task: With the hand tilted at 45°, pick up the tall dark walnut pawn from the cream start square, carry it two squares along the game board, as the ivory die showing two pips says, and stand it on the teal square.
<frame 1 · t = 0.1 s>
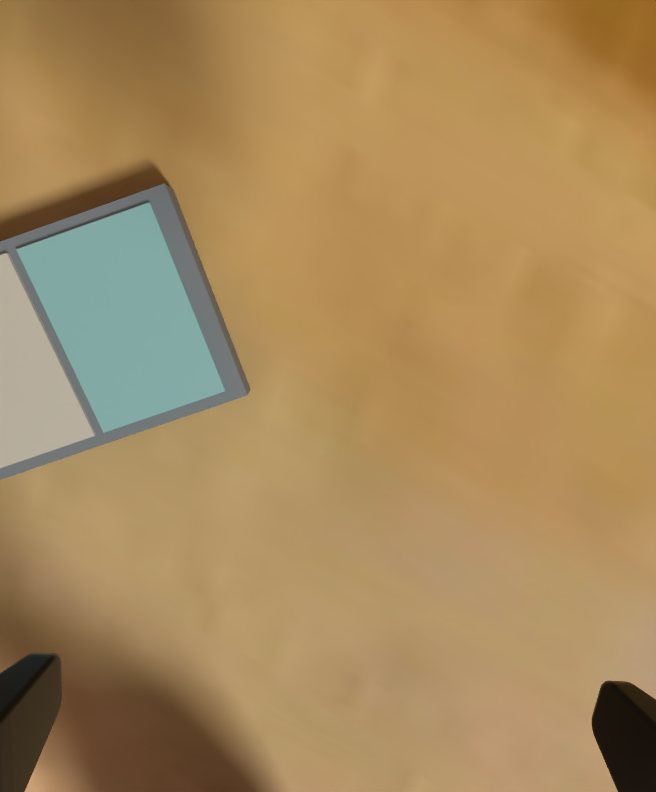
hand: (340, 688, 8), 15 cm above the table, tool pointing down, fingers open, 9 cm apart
board: (10, 365, 20), on the table
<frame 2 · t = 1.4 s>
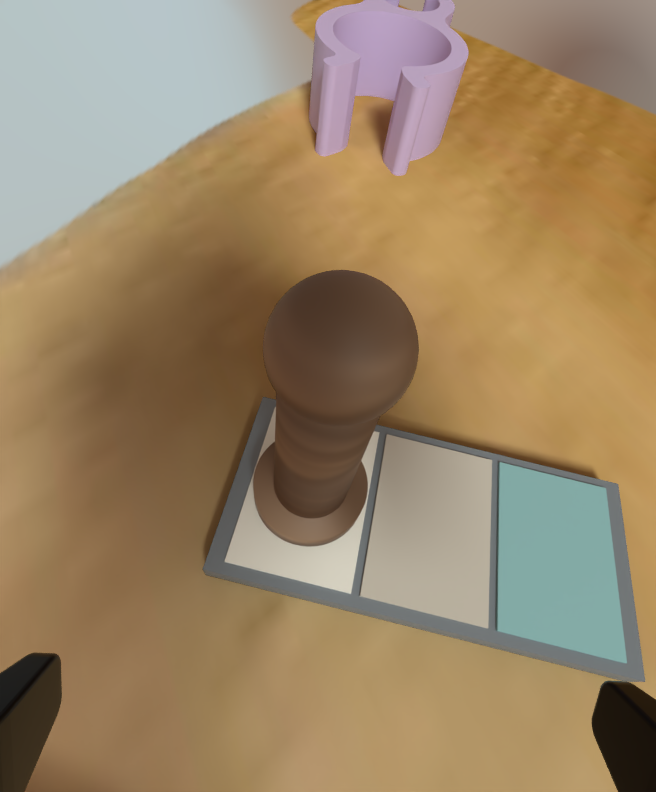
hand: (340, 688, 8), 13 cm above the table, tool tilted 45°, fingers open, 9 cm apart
clip: (380, 113, 45), on the table
board: (424, 529, 23), on the table
pawn: (309, 490, 22), point 1 cm above the table, touching board
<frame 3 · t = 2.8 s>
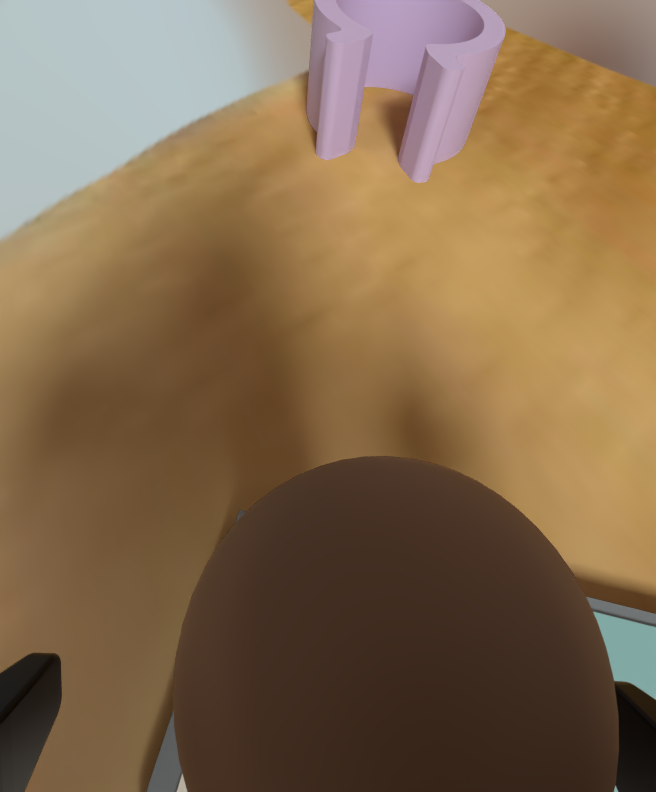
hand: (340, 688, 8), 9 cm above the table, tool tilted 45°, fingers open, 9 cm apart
clip: (391, 107, 37), on the table
board: (481, 722, 15), on the table
pawn: (306, 676, 14), point 1 cm above the table, touching board
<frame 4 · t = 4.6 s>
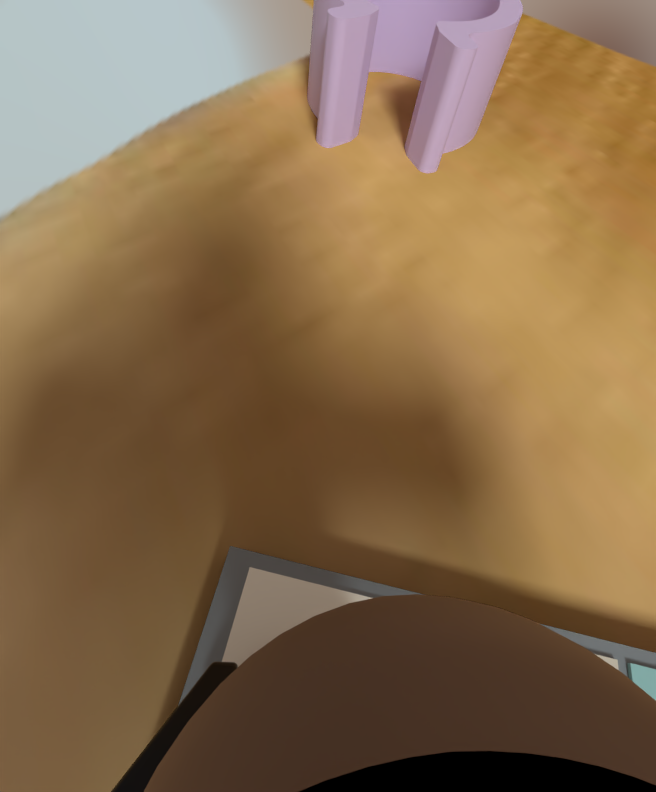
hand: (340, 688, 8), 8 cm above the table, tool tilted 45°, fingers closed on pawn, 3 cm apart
clip: (398, 93, 35), on the table
pawn: (306, 748, 12), point 1 cm above the table, touching board, gripper
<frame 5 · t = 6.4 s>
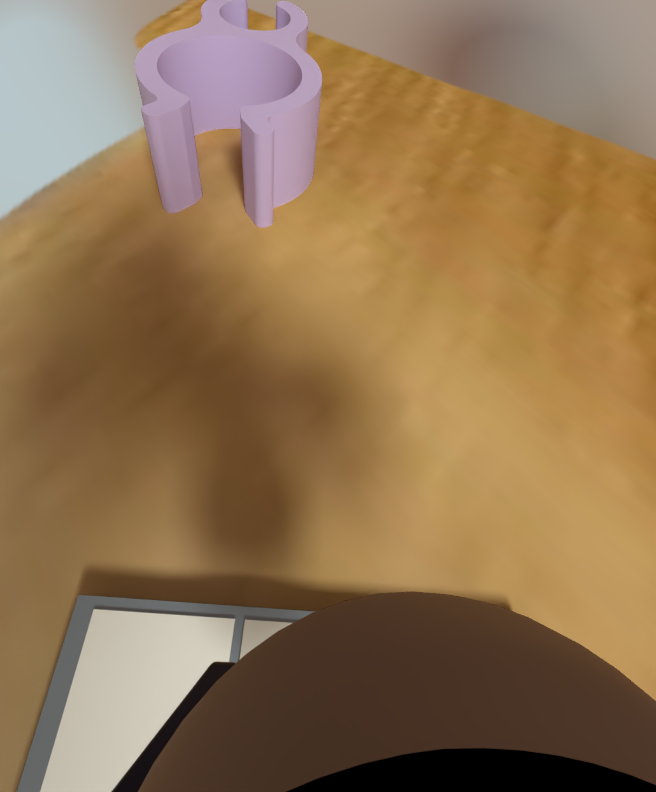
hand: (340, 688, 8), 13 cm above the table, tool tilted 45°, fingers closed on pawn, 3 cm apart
clip: (243, 148, 39), on the table
board: (303, 741, 18), on the table
pawn: (306, 747, 12), point 7 cm above the table, touching gripper
when the fingers open (9 cm above the table, at t = 8.7 s): pawn drops 1 cm, resting on board.
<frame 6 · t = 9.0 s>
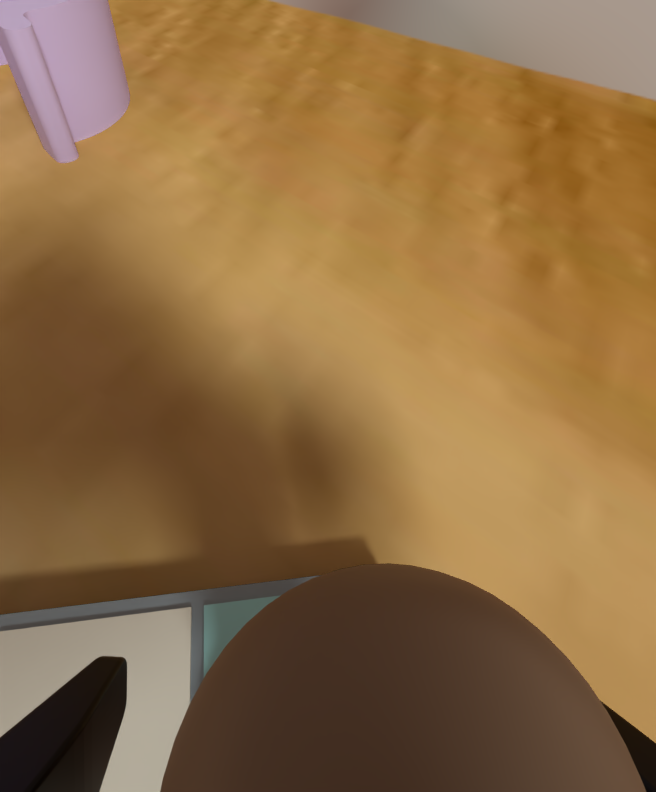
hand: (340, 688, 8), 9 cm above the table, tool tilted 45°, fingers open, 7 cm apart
clip: (43, 82, 33), on the table
board: (96, 773, 13), on the table
pawn: (303, 743, 13), point 1 cm above the table, touching board
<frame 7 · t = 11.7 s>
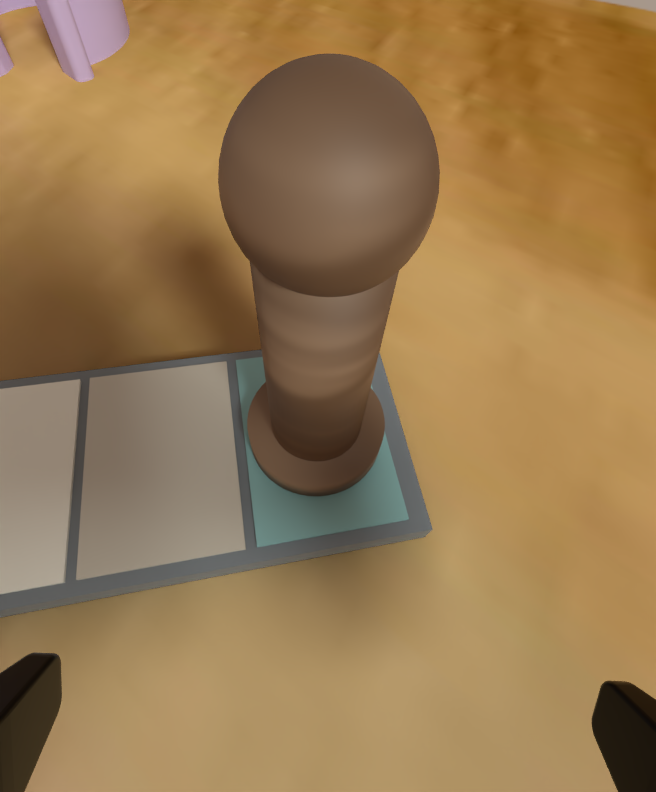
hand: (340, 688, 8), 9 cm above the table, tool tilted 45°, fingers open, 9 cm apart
clip: (51, 22, 37), on the table
board: (169, 468, 19), on the table
pawn: (315, 433, 18), point 1 cm above the table, touching board
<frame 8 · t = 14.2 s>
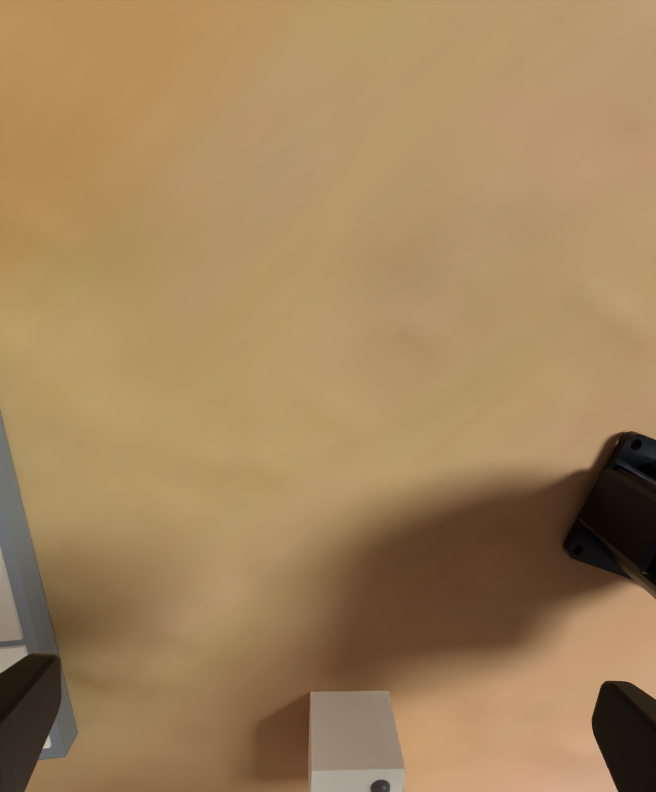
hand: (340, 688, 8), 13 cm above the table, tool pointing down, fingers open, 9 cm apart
die: (347, 721, 24), on the table
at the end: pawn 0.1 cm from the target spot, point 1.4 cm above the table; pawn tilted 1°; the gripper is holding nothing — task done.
